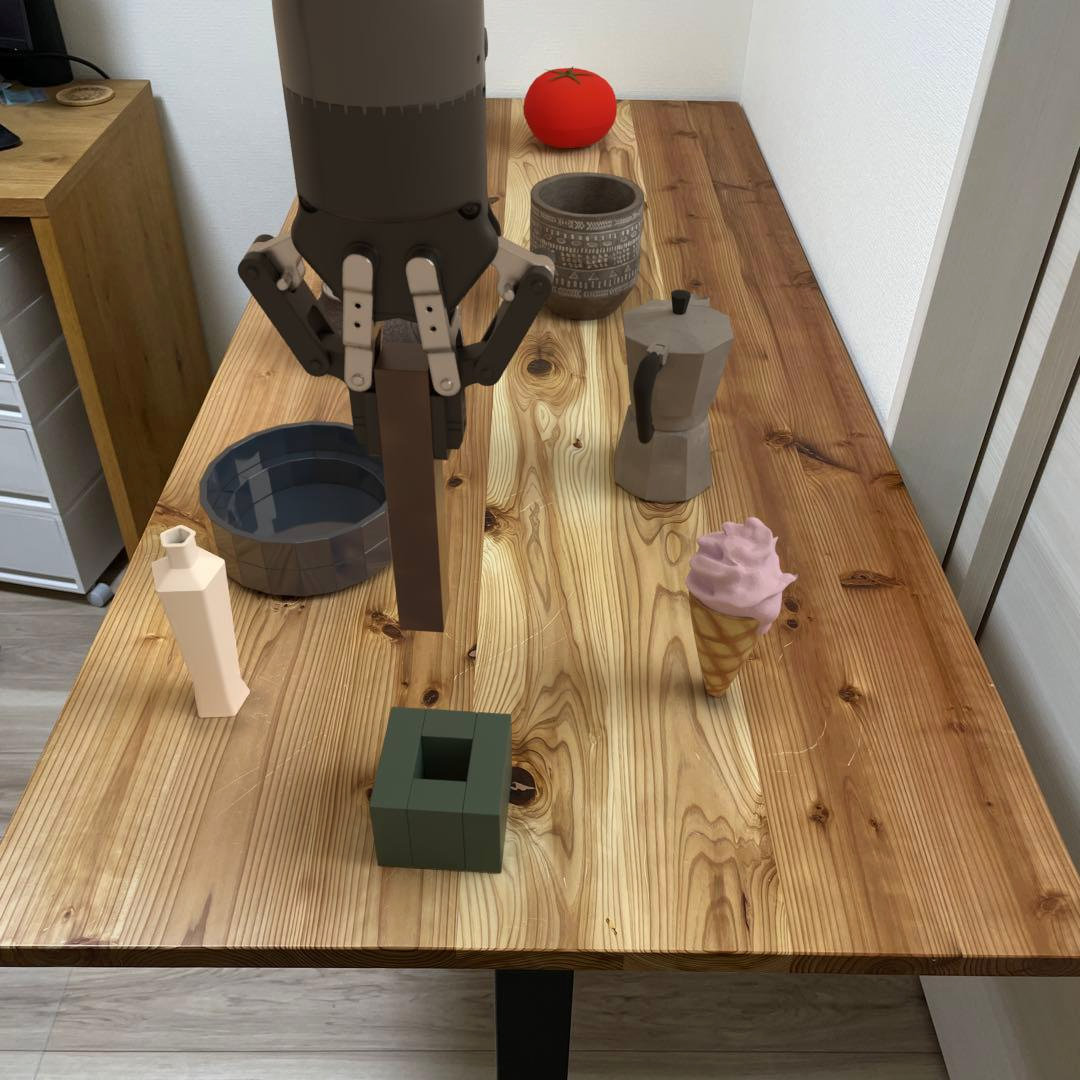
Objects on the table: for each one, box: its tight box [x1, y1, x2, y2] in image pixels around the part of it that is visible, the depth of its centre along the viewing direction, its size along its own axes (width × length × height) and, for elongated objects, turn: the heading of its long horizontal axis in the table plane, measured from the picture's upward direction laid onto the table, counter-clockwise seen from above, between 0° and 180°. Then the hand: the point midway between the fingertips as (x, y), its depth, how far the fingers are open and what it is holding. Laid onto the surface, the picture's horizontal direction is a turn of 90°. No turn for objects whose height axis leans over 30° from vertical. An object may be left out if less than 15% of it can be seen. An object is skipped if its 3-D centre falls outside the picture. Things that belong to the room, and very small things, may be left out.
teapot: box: [317, 281, 422, 346], centre depth 112 cm, size 19×15×10 cm
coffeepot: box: [613, 289, 735, 504], centre depth 90 cm, size 15×9×18 cm, turn 156°
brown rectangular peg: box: [374, 342, 451, 633], centre depth 53 cm, size 2×2×16 cm
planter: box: [529, 171, 645, 321], centre depth 117 cm, size 12×12×13 cm
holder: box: [368, 706, 513, 874], centre depth 66 cm, size 8×8×6 cm
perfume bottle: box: [151, 524, 251, 719], centre depth 71 cm, size 5×4×15 cm
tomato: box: [522, 66, 618, 149], centre depth 156 cm, size 14×13×10 cm
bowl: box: [198, 420, 393, 597], centre depth 87 cm, size 16×16×6 cm
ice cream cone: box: [685, 516, 799, 698], centre depth 72 cm, size 7×6×15 cm
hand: (412, 447), depth 51 cm, fingers closed on brown rectangular peg, 2 cm apart
